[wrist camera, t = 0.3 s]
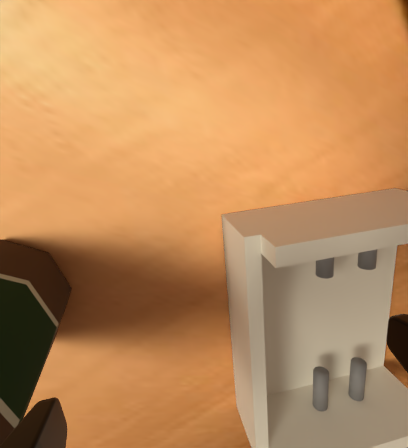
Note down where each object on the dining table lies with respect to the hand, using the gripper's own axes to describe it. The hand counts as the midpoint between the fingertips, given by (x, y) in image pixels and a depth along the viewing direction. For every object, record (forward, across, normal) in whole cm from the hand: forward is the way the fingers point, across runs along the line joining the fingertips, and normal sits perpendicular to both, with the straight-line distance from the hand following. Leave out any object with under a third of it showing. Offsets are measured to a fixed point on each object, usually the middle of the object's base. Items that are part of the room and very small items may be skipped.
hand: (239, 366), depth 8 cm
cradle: (+14, -11, +9) cm, 21 cm away
